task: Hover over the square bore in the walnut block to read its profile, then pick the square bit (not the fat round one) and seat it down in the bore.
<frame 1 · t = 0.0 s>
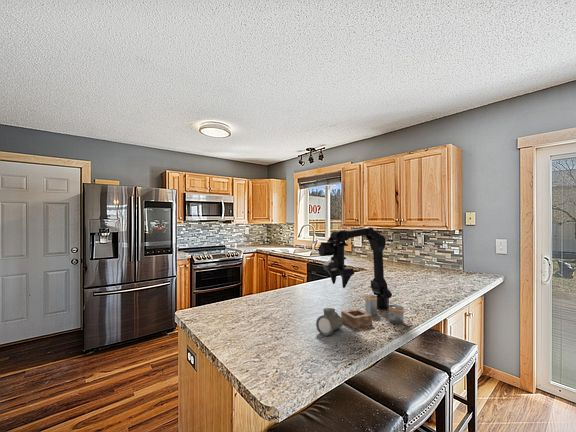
hand: (338, 285, 141), 15 cm above the countertop, fingers open, 9 cm apart
pipe fitting: (331, 332, 120), on the countertop
square bit: (371, 313, 142), on the countertop
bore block: (356, 322, 130), on the countertop
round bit: (396, 321, 131), on the countertop
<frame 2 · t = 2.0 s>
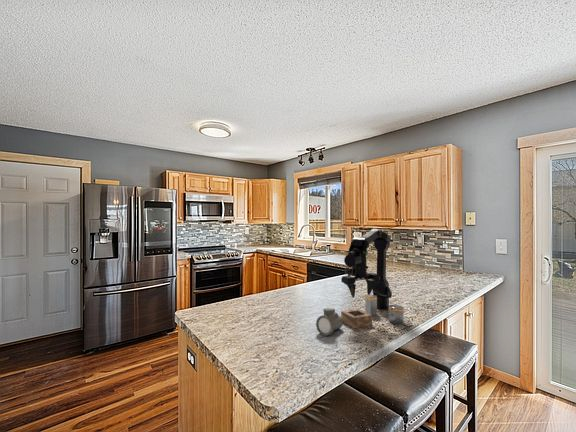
hand: (361, 296, 133), 11 cm above the countertop, fingers open, 9 cm apart
nothing on the countertop moved.
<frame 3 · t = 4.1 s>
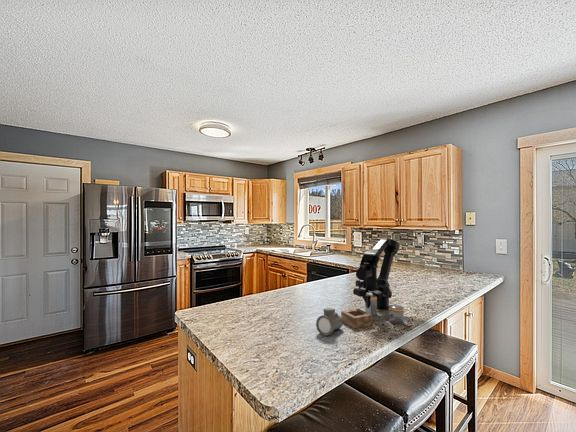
hand: (371, 307, 142), 3 cm above the countertop, fingers closed on square bit, 4 cm apart
square bit: (371, 313, 142), on the countertop, touching gripper
everything else where it was.
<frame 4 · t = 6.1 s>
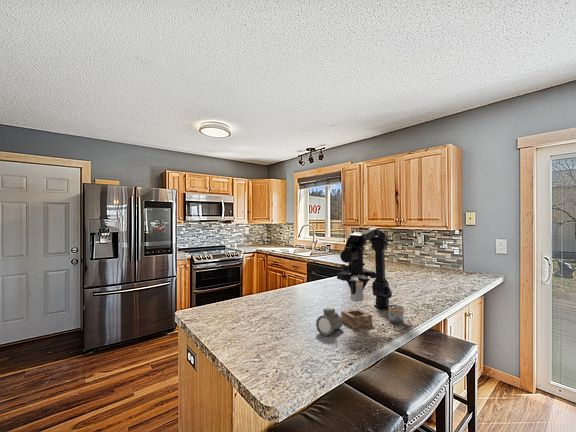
hand: (356, 293, 130), 13 cm above the countertop, fingers closed on square bit, 4 cm apart
square bit: (356, 300, 130), point 10 cm above the countertop, touching gripper
everything else where it was.
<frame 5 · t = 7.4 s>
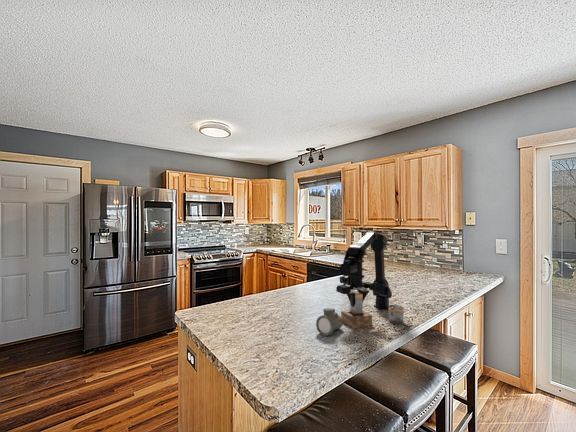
hand: (356, 306, 130), 8 cm above the countertop, fingers closed on square bit, 4 cm apart
square bit: (356, 312, 130), point 5 cm above the countertop, touching gripper
everything else where it was.
when the fingers open (5 cm above the countertop, at t = 8.3 s): square bit drops 1 cm, resting on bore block.
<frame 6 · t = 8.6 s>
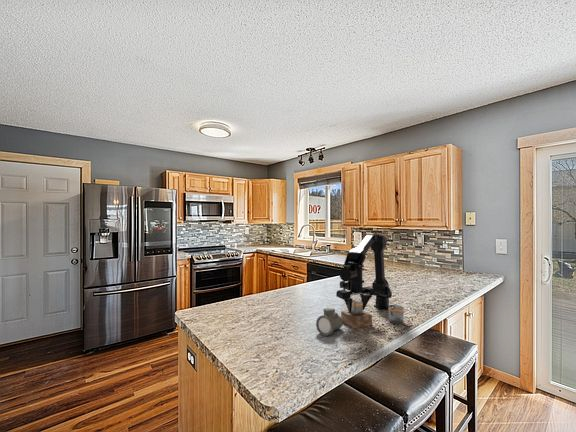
hand: (356, 311, 130), 5 cm above the countertop, fingers open, 7 cm apart
square bit: (356, 320, 130), point 1 cm above the countertop, touching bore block
everything else where it was.
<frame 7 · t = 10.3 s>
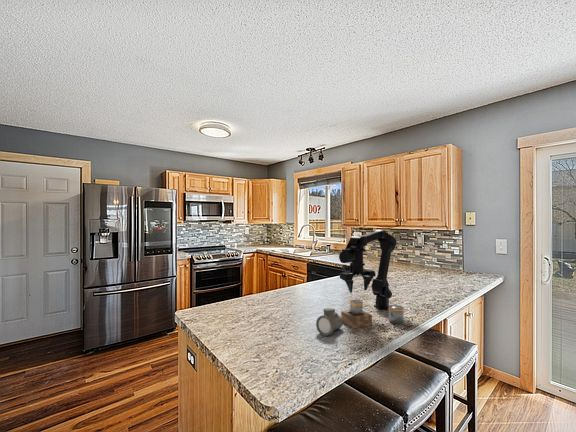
hand: (358, 291, 141), 12 cm above the countertop, fingers open, 9 cm apart
nothing on the countertop moved.
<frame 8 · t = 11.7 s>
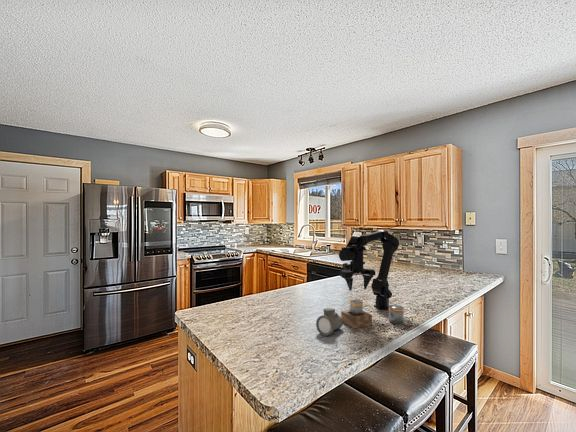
hand: (357, 289, 143), 12 cm above the countertop, fingers open, 9 cm apart
nothing on the countertop moved.
at the end: square bit 0.1 cm off-centre on the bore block, point 1.1 cm above the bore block's base; square bit tilted 0°; the gripper is holding nothing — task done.
